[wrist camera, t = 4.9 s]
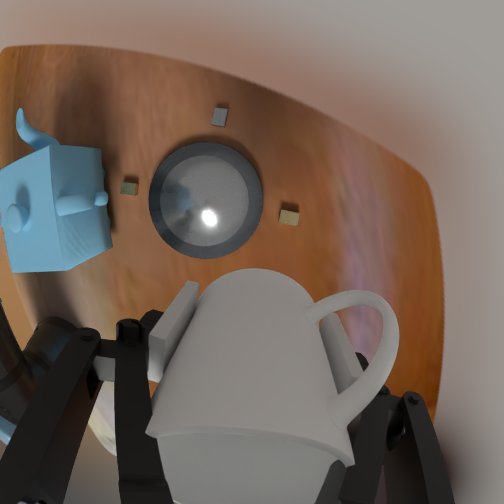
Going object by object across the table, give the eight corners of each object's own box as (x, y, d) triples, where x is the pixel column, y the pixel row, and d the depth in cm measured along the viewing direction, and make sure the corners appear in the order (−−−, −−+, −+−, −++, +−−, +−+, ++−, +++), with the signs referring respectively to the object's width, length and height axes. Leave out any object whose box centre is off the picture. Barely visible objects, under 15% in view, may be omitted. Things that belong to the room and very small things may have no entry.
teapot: (135, 242, 32) (73, 277, 20) (53, 250, 33) (-7, 278, 21) (123, 102, 28) (58, 75, 15) (41, 134, 29) (-22, 131, 16)
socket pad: (119, 238, 32) (115, 240, 31) (139, 104, 28) (135, 102, 27) (284, 273, 32) (285, 276, 31) (316, 127, 27) (318, 125, 26)
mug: (318, 211, 16) (423, 284, 4) (378, 315, 18) (462, 444, 6) (169, 309, 18) (79, 441, 7) (241, 389, 20) (222, 526, 8)
